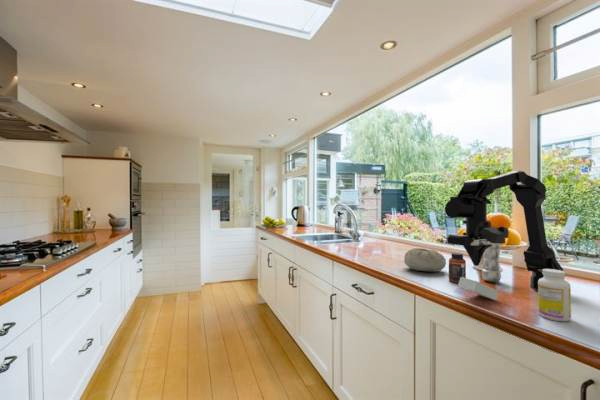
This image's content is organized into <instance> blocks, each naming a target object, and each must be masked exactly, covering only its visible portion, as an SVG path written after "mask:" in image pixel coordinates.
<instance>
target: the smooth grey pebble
mask: <svg viewBox="0 0 600 400" xmlns="http://www.w3.org/2000/svg"><path fill="white" fill-rule="evenodd" d="M403 261H404V264H405V266H407V267H408V268H410V269H411V270H414V271H417V272H418V271H419V272H438V271H442V270H444V268H446V264H447V262H446V258H445V256H444V255H443V254H442V253H440V252H438V251H436V250H433V249H432V250H431V249H427V248H421V247H415V248H414V247H413V248H411V249H409V250H407V252H406V253H404V259H403Z"/></svg>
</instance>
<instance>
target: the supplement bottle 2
mask: <svg viewBox="0 0 600 400" xmlns="http://www.w3.org/2000/svg"><path fill="white" fill-rule="evenodd" d="M542 274H543V275H544V276H543V278H540V279H539V280H538V291H537V309H538V315H540V317H542V318H545V319H548V320H551V321H554V322H555V321H556V322H570V321H571V320H572V312H571V311H572V307H571V306H572V305H571V303H572V302H571V297H572V296H571V295H572V293H571V283H570V282H569V281H568V280H565V277H566V271H564V270H563V271H561V270H555V269H543V270H542Z"/></svg>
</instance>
